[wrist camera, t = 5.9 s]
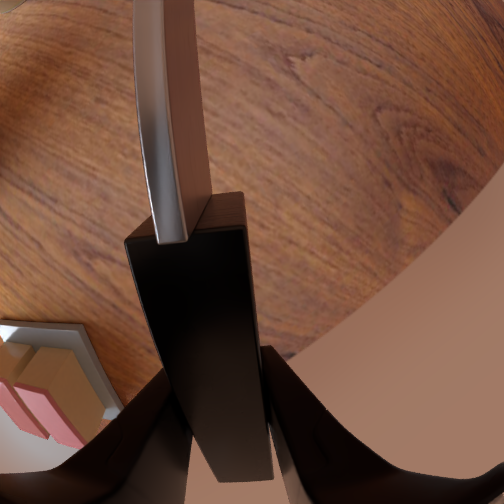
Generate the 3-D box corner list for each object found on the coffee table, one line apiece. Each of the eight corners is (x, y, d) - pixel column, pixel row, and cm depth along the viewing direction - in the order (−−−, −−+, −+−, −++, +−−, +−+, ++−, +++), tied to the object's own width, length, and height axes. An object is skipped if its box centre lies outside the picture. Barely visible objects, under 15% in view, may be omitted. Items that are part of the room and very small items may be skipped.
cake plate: (-1, 318, 20) (-35, 356, 14) (82, 323, 20) (46, 378, 14) (47, 400, 24) (27, 439, 18) (129, 415, 24) (114, 465, 18)
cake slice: (41, 345, 20) (12, 385, 14) (72, 349, 20) (44, 394, 14) (75, 404, 22) (57, 443, 17) (106, 409, 22) (90, 452, 17)
